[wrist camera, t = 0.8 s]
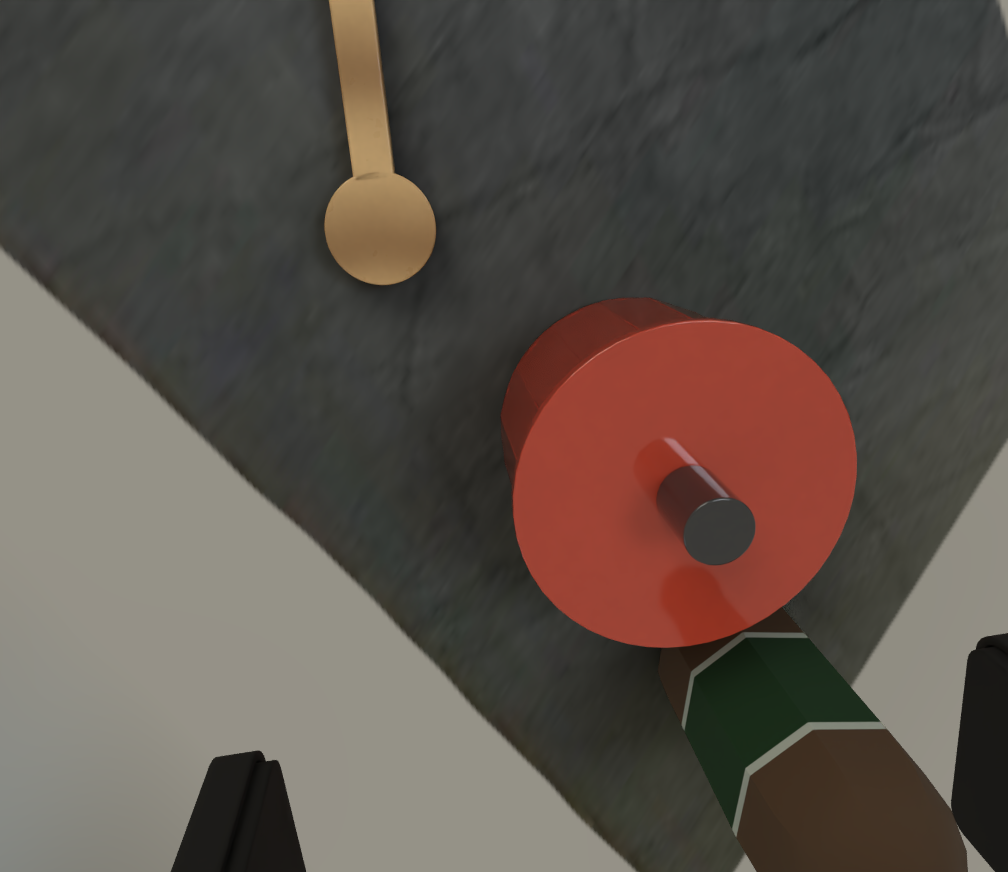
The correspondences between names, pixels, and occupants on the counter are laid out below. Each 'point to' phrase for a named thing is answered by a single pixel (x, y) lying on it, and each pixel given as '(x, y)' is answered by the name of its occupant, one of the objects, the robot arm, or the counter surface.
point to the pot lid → (683, 482)
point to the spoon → (372, 166)
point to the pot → (570, 357)
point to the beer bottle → (804, 759)
